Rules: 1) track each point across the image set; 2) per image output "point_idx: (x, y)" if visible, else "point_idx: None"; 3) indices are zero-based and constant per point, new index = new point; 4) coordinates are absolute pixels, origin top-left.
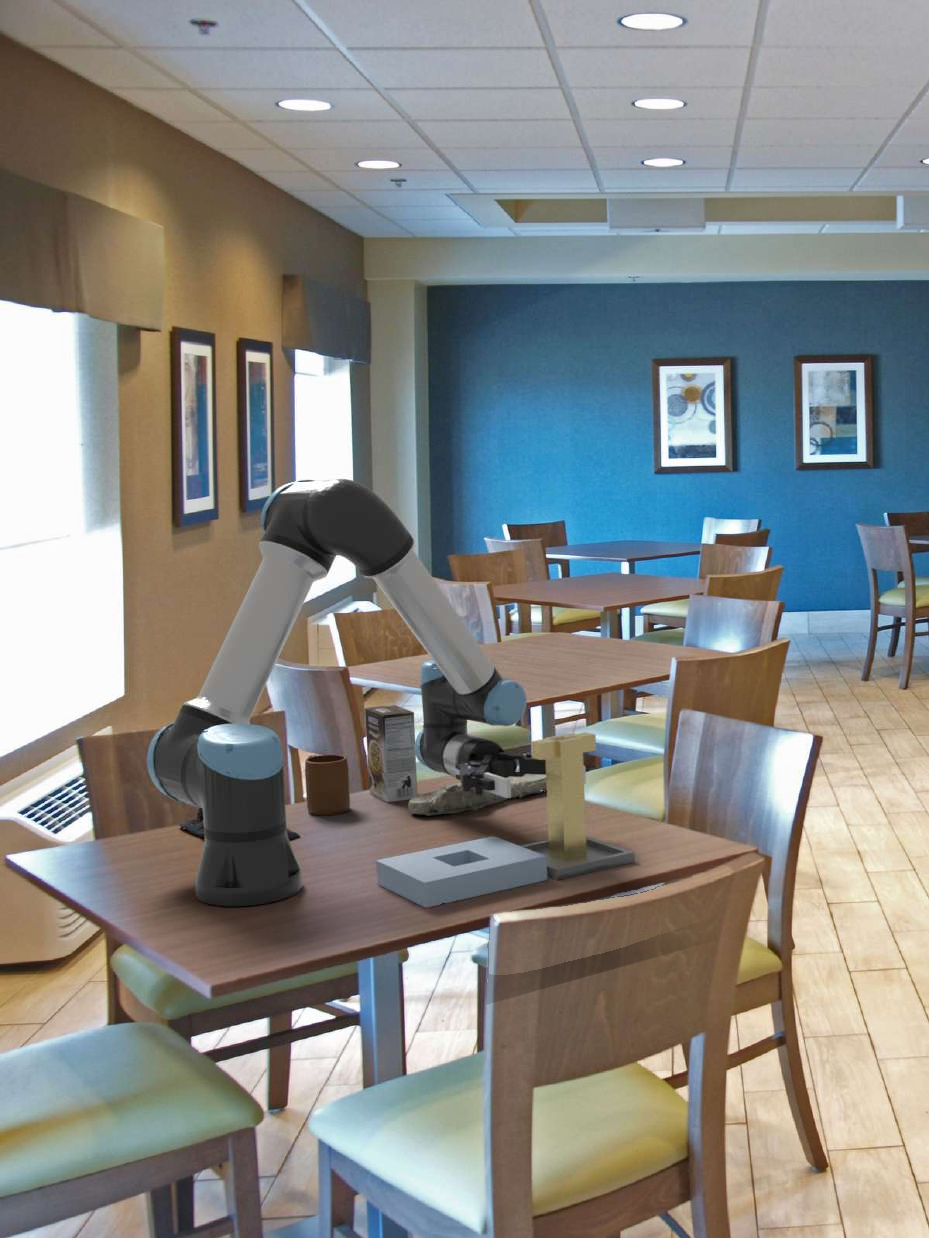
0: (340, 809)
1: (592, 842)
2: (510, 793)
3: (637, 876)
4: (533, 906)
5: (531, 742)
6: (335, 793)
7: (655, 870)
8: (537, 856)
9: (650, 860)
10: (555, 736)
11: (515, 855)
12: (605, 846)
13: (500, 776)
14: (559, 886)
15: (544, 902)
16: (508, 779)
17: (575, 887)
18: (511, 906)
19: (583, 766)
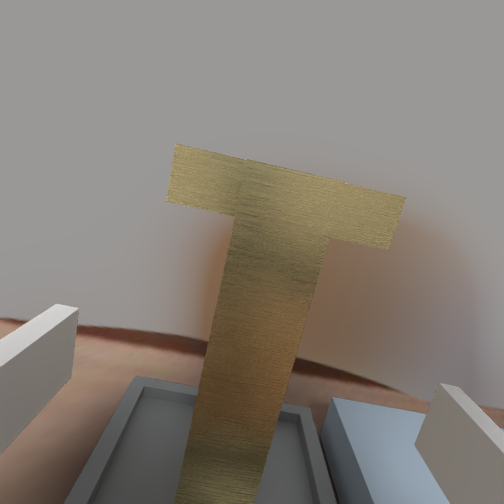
0: None
1: (93, 491)
2: (421, 432)
3: (195, 360)
4: (376, 384)
5: (403, 200)
6: None
7: (154, 357)
8: (348, 405)
9: (106, 381)
10: (300, 172)
11: (390, 435)
12: (119, 438)
13: (497, 446)
14: (315, 404)
15: (358, 383)
16: (447, 389)
17: (296, 388)
18: (405, 400)
19: (62, 306)
